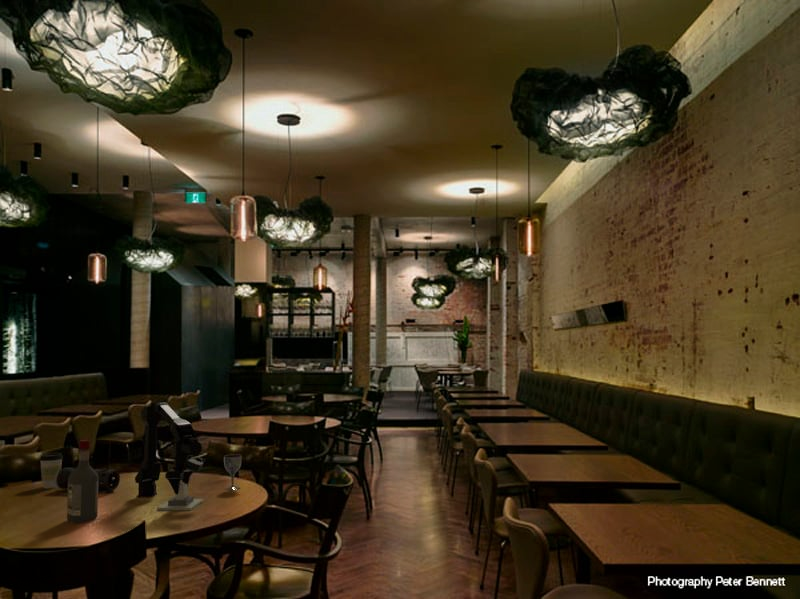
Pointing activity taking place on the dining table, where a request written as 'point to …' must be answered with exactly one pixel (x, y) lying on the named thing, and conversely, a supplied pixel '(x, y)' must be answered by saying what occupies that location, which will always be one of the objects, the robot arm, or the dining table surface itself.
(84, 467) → the liquor
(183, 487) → the connector plug
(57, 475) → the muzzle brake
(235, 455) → the wine glass
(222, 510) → the dining table surface
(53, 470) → the coffee cup
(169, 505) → the end holder
